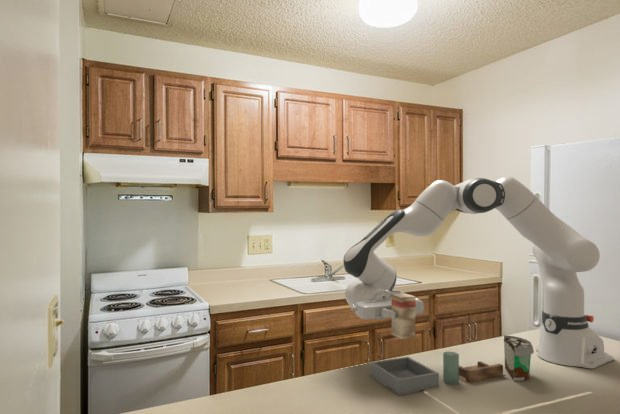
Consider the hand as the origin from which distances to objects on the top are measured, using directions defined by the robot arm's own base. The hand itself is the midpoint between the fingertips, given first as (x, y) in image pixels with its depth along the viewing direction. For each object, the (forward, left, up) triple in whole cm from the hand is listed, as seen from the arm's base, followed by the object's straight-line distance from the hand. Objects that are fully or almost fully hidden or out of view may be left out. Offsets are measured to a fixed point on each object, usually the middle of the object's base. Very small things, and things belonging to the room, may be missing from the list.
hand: (405, 314), depth 115 cm
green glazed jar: (-11, +5, -18) cm, 22 cm away
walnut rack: (-21, +3, -18) cm, 28 cm away
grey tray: (0, -1, -18) cm, 19 cm away
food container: (-32, +9, -19) cm, 38 cm away
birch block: (0, -1, -6) cm, 6 cm away
